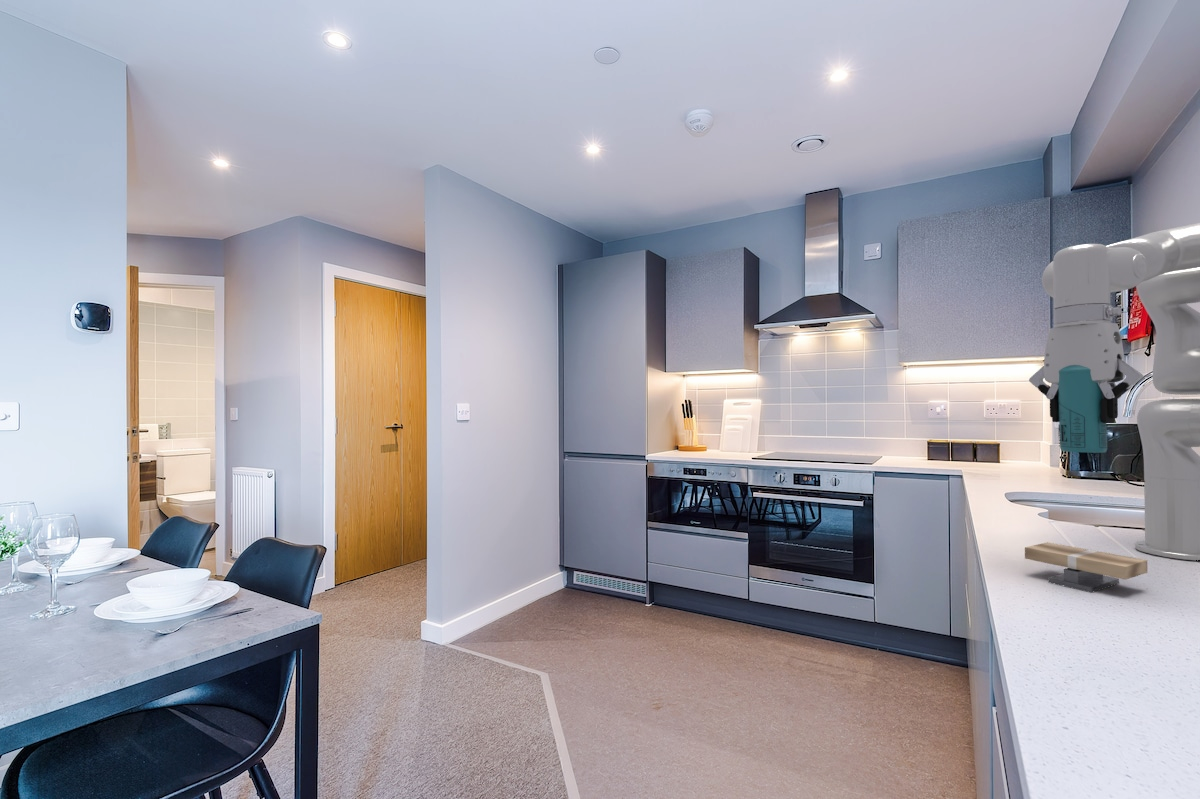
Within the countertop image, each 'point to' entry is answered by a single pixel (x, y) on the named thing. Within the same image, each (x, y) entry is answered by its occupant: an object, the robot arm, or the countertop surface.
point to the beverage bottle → (1080, 412)
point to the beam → (1087, 560)
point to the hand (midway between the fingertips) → (1082, 421)
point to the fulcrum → (1083, 580)
